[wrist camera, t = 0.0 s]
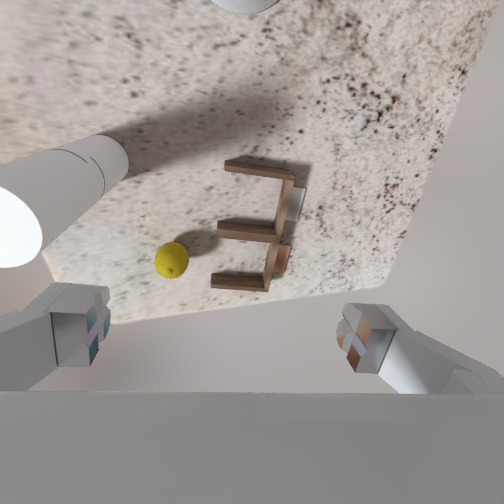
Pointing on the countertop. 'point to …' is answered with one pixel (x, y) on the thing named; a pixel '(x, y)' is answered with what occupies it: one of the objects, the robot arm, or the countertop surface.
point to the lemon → (171, 260)
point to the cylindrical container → (53, 193)
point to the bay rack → (262, 230)
